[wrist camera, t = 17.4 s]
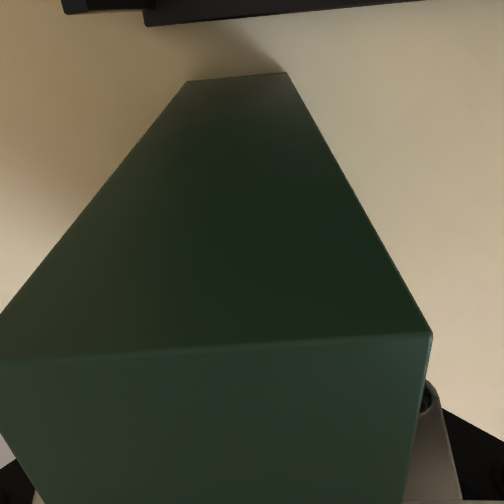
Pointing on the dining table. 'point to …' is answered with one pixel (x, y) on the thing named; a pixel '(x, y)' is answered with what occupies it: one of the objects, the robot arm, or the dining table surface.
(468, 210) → the dining table surface
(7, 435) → the book
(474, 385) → the dining table surface
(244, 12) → the rack
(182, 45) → the dining table surface
